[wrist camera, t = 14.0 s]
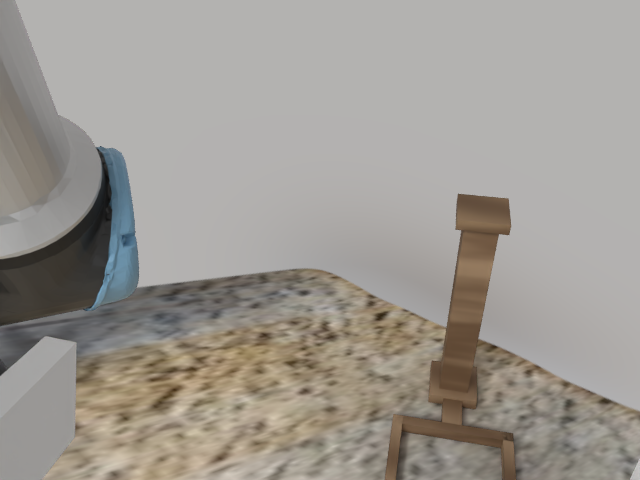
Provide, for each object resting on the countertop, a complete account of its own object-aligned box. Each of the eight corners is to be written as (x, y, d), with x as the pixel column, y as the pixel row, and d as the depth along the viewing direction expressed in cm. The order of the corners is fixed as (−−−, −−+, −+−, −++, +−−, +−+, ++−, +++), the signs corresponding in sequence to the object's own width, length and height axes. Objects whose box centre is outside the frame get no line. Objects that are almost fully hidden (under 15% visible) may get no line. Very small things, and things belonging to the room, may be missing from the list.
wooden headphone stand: (518, 559, 40) (587, 367, 29) (378, 531, 42) (394, 340, 31) (506, 379, 53) (551, 201, 42) (400, 363, 55) (417, 188, 44)
